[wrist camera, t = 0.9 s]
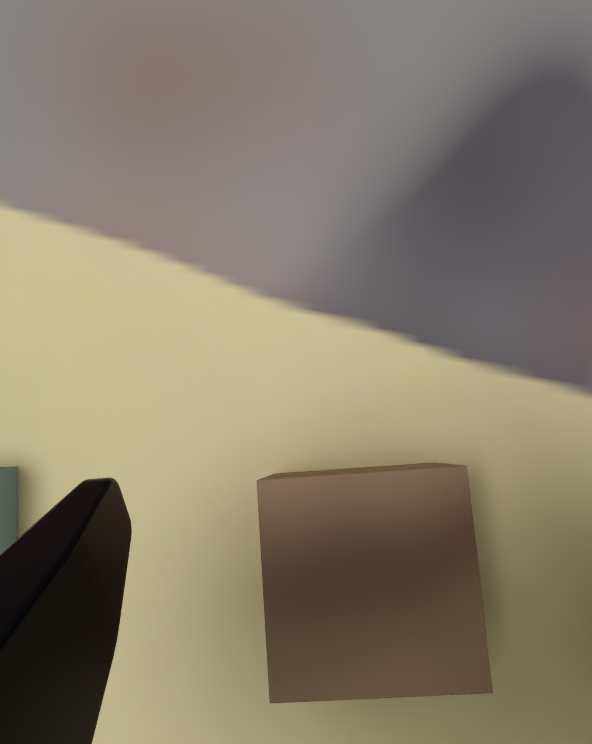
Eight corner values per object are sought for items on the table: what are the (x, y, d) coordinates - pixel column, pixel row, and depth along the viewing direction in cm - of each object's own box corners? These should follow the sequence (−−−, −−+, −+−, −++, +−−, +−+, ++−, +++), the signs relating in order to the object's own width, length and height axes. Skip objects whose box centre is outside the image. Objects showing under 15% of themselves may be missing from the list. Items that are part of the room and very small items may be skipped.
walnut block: (452, 632, 20) (492, 693, 15) (285, 641, 20) (270, 703, 15) (434, 462, 21) (466, 465, 16) (274, 473, 21) (256, 480, 16)
